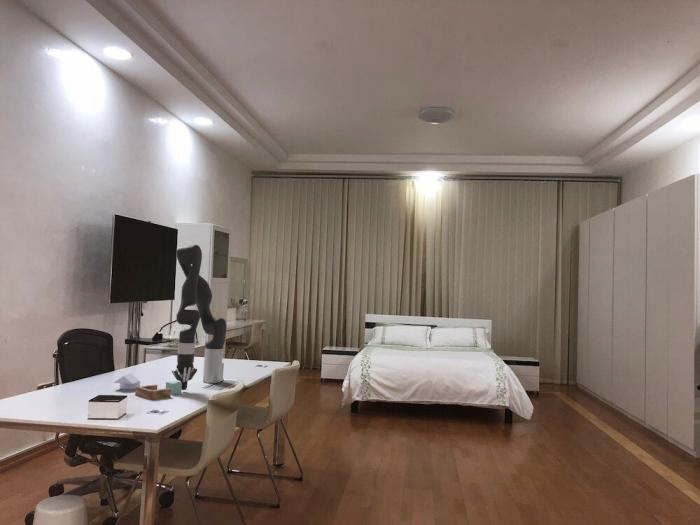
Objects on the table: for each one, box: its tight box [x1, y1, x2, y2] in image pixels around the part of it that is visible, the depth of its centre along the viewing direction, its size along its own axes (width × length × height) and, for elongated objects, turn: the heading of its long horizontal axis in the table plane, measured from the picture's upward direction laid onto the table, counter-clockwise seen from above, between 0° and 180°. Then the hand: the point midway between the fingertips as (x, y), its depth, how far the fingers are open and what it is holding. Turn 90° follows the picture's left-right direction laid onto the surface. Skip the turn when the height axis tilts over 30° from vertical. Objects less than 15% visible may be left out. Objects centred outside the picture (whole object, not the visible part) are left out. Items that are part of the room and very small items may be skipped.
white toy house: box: [113, 372, 141, 390], centre depth 262 cm, size 9×7×13 cm
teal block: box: [165, 380, 183, 396], centre depth 256 cm, size 5×5×5 cm
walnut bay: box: [134, 384, 171, 401], centre depth 248 cm, size 10×12×4 cm
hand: (183, 389), depth 260 cm, fingers closed
